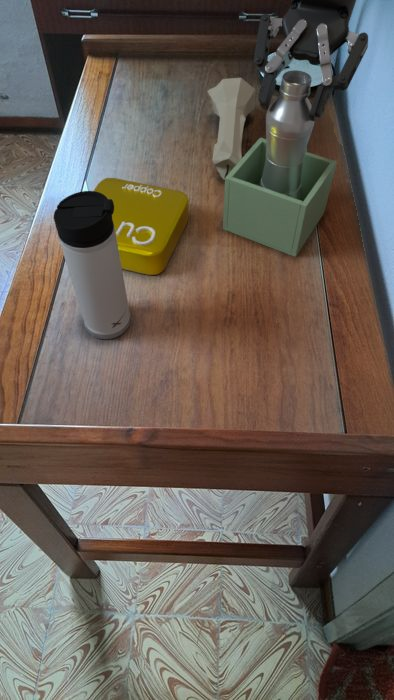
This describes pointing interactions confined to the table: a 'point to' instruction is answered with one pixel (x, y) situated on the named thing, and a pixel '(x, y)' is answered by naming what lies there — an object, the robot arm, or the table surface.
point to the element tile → (145, 222)
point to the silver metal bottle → (287, 135)
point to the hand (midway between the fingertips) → (287, 113)
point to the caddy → (275, 202)
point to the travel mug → (94, 262)
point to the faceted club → (230, 121)
